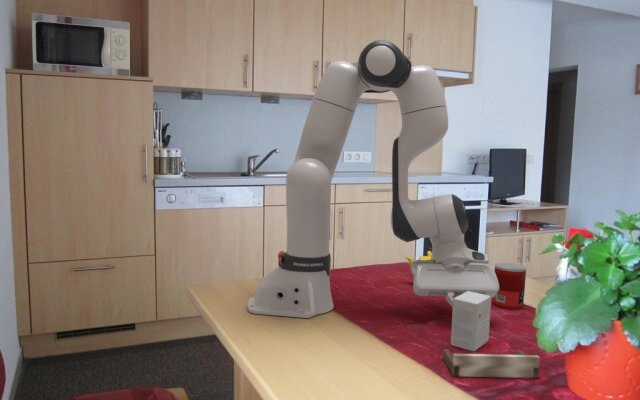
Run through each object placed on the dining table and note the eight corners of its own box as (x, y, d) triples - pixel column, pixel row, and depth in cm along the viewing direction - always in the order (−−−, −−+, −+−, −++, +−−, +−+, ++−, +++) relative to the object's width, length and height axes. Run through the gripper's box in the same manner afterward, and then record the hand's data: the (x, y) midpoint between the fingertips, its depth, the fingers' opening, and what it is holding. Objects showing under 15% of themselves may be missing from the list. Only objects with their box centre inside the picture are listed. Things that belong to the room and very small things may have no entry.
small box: (465, 335, 119) (467, 290, 117) (489, 341, 115) (492, 295, 114) (449, 345, 112) (452, 297, 111) (474, 352, 109) (477, 303, 108)
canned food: (525, 311, 137) (528, 270, 136) (494, 308, 139) (496, 268, 138) (520, 302, 145) (523, 263, 144) (490, 300, 146) (493, 261, 145)
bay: (453, 376, 97) (454, 355, 97) (443, 358, 105) (444, 339, 105) (538, 377, 97) (539, 357, 97) (521, 360, 105) (522, 341, 105)
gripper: (412, 253, 127) (418, 304, 119) (494, 254, 128) (506, 305, 119) (407, 266, 132) (413, 316, 124) (487, 268, 133) (498, 318, 124)
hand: (460, 311), depth 121 cm, fingers closed
